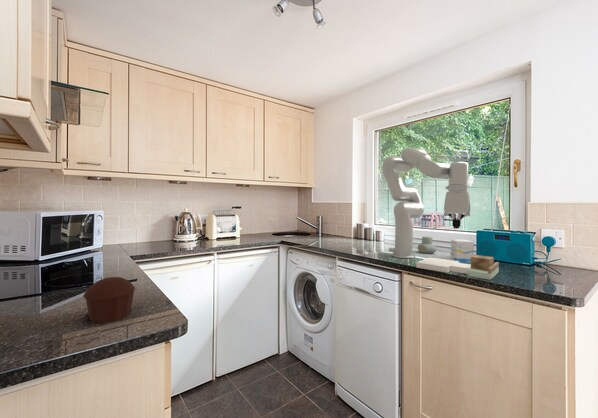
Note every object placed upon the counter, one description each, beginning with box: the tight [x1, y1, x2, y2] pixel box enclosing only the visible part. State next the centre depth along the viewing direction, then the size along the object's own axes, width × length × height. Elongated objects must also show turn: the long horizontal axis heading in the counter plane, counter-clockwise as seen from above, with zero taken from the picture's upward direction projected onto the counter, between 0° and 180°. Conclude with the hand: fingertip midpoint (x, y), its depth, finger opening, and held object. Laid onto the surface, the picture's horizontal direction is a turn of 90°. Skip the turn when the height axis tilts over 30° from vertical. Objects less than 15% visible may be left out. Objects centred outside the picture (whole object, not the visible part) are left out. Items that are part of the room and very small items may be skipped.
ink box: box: [450, 238, 475, 264], centre depth 148 cm, size 9×8×12 cm
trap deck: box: [415, 257, 500, 281], centre depth 131 cm, size 30×18×4 cm, turn 46°
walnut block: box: [471, 254, 495, 271], centre depth 123 cm, size 7×7×5 cm
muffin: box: [82, 276, 136, 324], centre depth 74 cm, size 12×11×10 cm
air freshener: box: [417, 236, 437, 255], centre depth 175 cm, size 11×8×10 cm
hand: (456, 228), depth 131 cm, fingers closed
